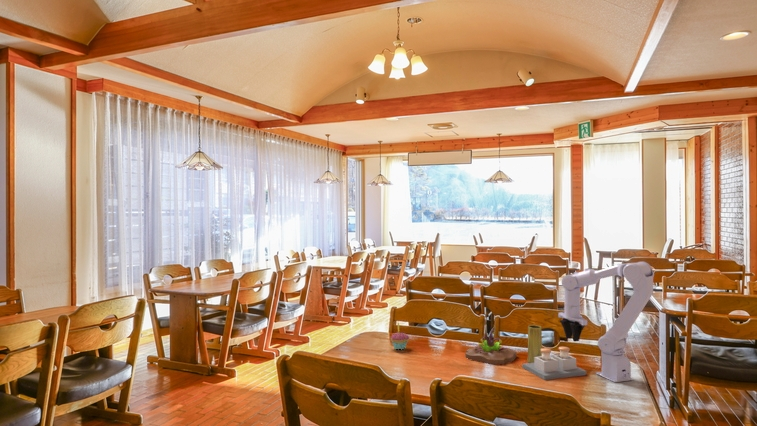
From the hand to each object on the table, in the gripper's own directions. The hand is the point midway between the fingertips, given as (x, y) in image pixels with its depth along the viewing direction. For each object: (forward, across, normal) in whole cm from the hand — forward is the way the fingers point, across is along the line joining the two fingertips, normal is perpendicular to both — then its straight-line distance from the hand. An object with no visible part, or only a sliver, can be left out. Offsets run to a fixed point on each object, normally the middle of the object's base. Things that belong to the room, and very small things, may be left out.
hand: (572, 339), depth 181 cm
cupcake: (+11, +42, +58) cm, 72 cm away
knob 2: (+6, -4, +7) cm, 10 cm away
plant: (+11, +20, +24) cm, 34 cm away
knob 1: (+6, -4, +15) cm, 17 cm away
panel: (+10, -3, +11) cm, 15 cm away
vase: (+11, +9, +11) cm, 18 cm away
